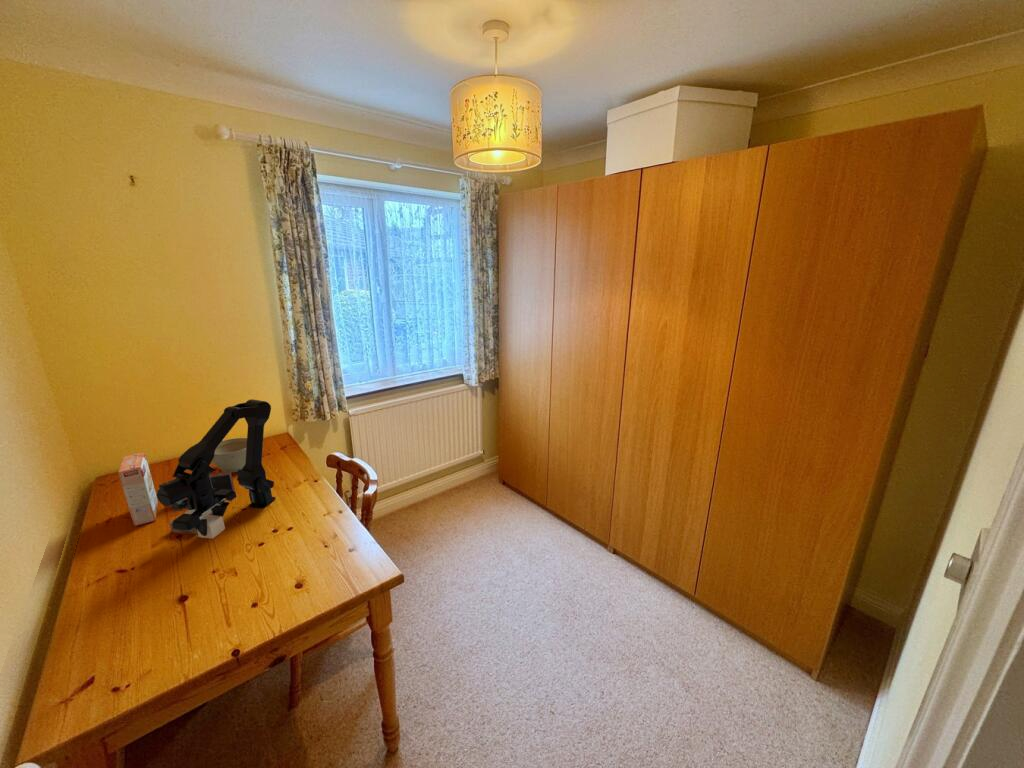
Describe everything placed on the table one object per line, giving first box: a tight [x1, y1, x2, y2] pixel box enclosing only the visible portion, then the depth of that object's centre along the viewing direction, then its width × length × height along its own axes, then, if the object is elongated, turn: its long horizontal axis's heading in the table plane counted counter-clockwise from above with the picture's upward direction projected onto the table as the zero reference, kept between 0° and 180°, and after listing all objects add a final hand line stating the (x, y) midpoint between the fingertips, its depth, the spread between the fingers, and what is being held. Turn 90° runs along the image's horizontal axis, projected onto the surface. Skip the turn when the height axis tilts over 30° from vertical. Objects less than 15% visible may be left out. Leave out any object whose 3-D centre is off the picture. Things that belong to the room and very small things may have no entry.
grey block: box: [169, 509, 213, 535], centre depth 135 cm, size 9×9×4 cm
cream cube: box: [197, 515, 226, 539], centre depth 131 cm, size 5×5×5 cm
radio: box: [209, 456, 236, 493], centre depth 149 cm, size 19×3×15 cm, turn 114°
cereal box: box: [118, 452, 159, 527], centre depth 138 cm, size 14×6×21 cm, turn 37°
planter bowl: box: [211, 437, 247, 474], centre depth 171 cm, size 16×16×11 cm
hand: (211, 530), depth 131 cm, fingers closed on cream cube, 5 cm apart
